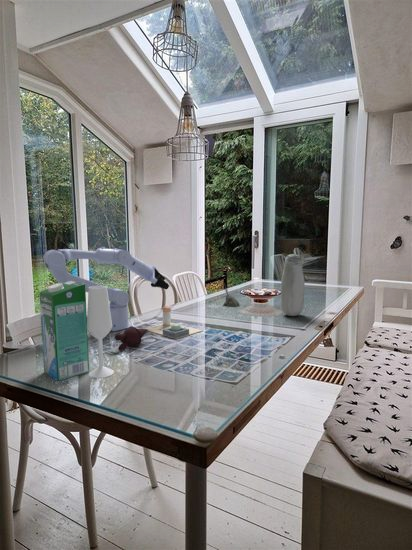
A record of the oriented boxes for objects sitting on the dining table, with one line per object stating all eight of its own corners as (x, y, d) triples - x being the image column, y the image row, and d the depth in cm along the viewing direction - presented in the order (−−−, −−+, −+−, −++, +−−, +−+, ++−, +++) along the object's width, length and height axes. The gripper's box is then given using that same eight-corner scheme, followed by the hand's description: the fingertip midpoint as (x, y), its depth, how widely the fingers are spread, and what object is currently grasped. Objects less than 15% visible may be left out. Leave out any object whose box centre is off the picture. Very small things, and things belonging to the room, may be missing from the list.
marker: (166, 326, 152) (166, 308, 151) (161, 325, 154) (160, 307, 153) (172, 325, 154) (172, 307, 153) (167, 323, 157) (166, 306, 156)
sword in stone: (243, 305, 197) (243, 282, 195) (237, 308, 191) (236, 285, 189) (226, 303, 202) (225, 281, 200) (219, 306, 195) (219, 283, 194)
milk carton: (43, 372, 105) (38, 283, 102) (74, 363, 111) (70, 280, 108) (57, 381, 99) (52, 286, 96) (89, 371, 105) (85, 282, 102)
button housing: (175, 337, 136) (175, 333, 136) (162, 334, 141) (162, 329, 141) (189, 333, 141) (189, 329, 141) (176, 330, 146) (176, 326, 146)
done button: (175, 333, 139) (175, 326, 138) (169, 331, 141) (168, 325, 141) (182, 331, 141) (182, 324, 141) (176, 330, 144) (176, 323, 143)
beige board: (176, 338, 136) (176, 337, 136) (141, 329, 149) (141, 328, 149) (202, 331, 146) (202, 330, 146) (168, 322, 160) (168, 322, 160)
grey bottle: (304, 318, 166) (306, 254, 162) (281, 317, 167) (282, 254, 164) (302, 313, 175) (304, 253, 172) (280, 312, 177) (281, 253, 174)
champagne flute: (118, 372, 104) (115, 286, 101) (97, 379, 99) (93, 289, 96) (105, 366, 109) (101, 284, 106) (84, 373, 104) (79, 287, 101)
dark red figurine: (137, 321, 136) (106, 334, 124) (152, 318, 132) (121, 332, 120) (142, 339, 137) (112, 354, 124) (157, 337, 132) (127, 353, 120)
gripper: (149, 266, 148) (175, 283, 155) (142, 254, 161) (167, 270, 167) (138, 280, 149) (165, 296, 156) (133, 267, 162) (158, 282, 168)
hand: (165, 283), depth 161 cm, fingers open, 7 cm apart
